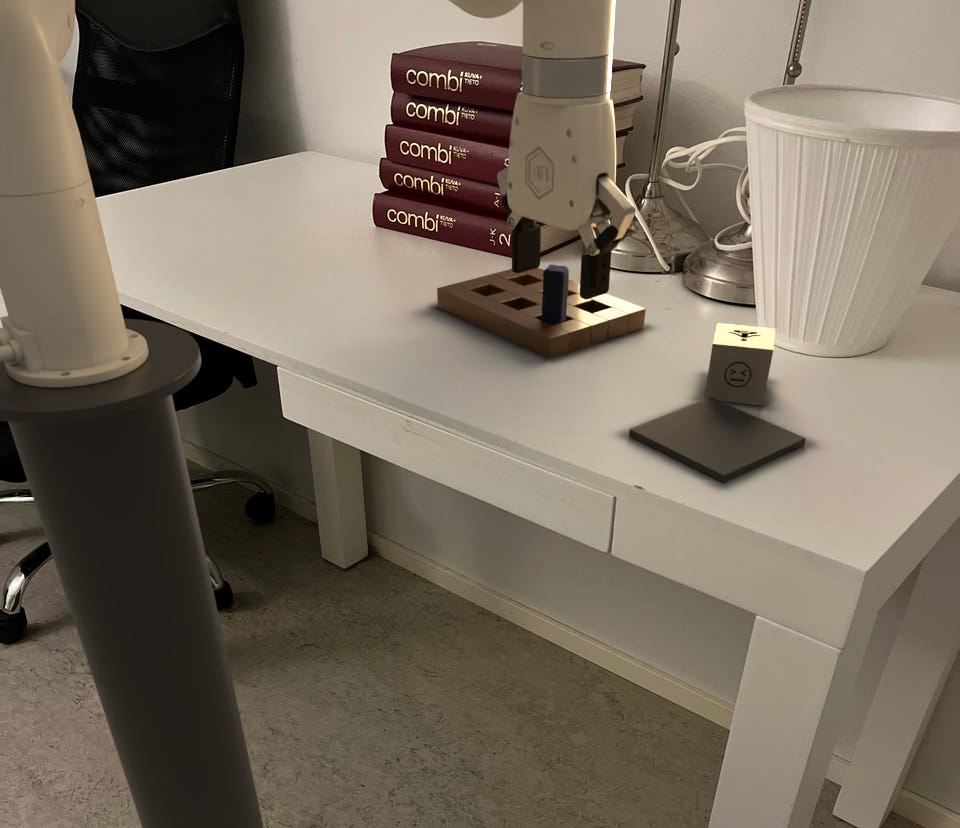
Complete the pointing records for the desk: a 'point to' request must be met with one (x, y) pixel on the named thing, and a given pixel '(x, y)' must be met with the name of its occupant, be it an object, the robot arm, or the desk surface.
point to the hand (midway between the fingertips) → (558, 282)
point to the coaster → (717, 438)
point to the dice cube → (740, 363)
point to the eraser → (555, 294)
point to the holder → (538, 312)
